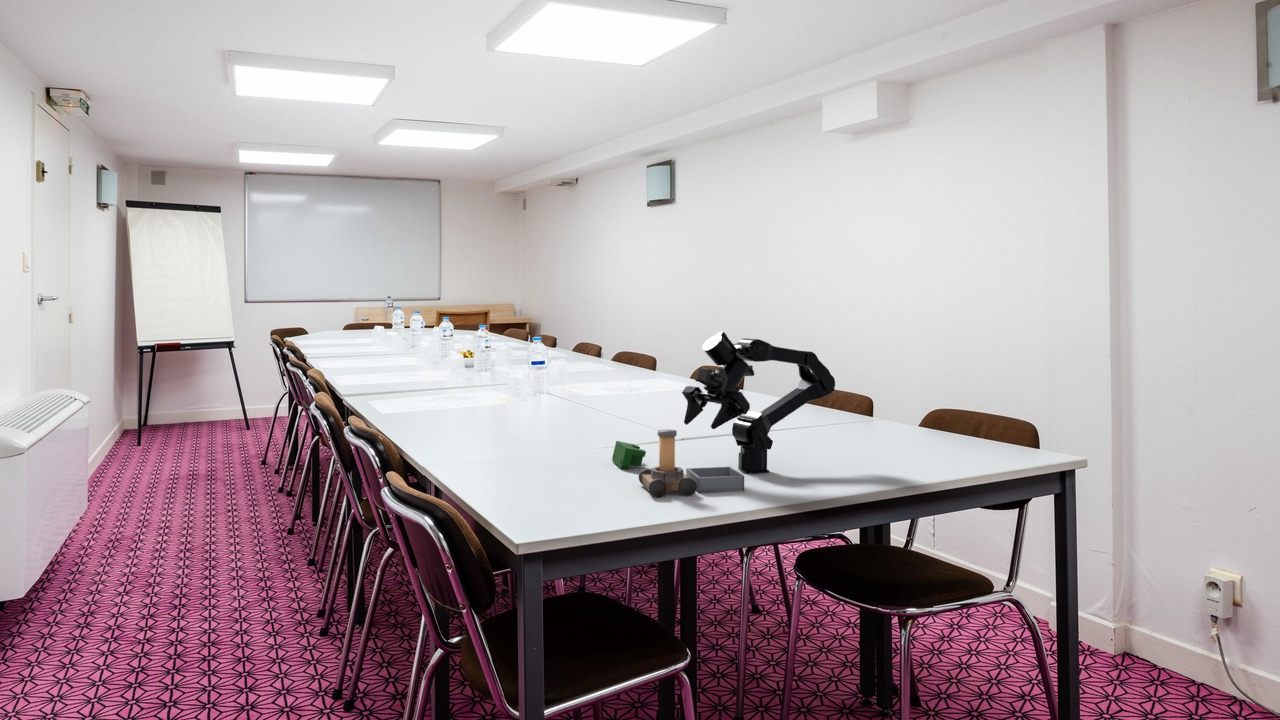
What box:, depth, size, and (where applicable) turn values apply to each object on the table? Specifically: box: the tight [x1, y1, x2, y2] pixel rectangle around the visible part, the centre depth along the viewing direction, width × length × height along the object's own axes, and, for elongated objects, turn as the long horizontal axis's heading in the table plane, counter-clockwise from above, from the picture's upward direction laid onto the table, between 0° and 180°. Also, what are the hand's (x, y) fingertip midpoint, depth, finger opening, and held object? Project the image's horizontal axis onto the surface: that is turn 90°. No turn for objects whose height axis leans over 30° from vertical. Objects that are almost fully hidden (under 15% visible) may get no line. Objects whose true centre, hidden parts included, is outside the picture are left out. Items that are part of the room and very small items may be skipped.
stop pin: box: [657, 429, 678, 472], centre depth 191 cm, size 4×4×11 cm
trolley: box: [638, 465, 697, 498], centre depth 192 cm, size 11×12×5 cm
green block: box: [611, 440, 647, 470], centre depth 221 cm, size 12×6×9 cm, turn 8°
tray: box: [685, 466, 745, 494], centre depth 196 cm, size 11×11×4 cm
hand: (698, 425), depth 201 cm, fingers open, 9 cm apart
